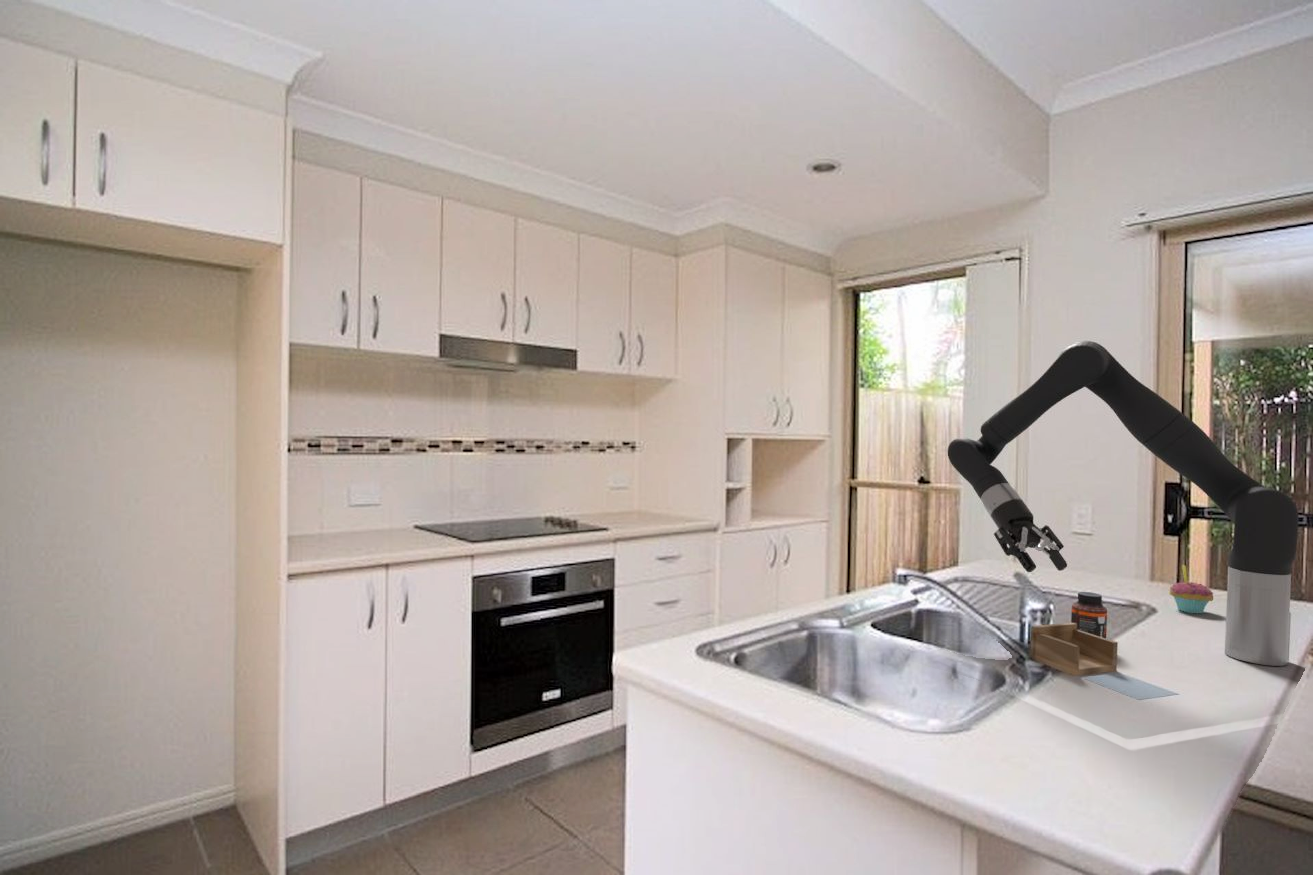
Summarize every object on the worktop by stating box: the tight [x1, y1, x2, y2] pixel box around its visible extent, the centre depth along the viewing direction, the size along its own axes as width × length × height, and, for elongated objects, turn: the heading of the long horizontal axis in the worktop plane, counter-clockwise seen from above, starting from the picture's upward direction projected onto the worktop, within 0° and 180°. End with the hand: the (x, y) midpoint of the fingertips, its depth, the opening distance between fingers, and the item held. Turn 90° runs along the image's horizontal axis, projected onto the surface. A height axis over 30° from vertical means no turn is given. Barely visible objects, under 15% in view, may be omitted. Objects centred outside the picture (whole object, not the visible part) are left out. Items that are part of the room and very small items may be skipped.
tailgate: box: [1080, 672, 1178, 701], centre depth 115 cm, size 9×1×10 cm
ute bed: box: [1030, 622, 1119, 677], centre depth 125 cm, size 10×9×7 cm
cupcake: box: [1169, 561, 1214, 615], centre depth 170 cm, size 9×8×12 cm
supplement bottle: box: [1070, 591, 1108, 639], centre depth 136 cm, size 6×6×11 cm
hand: (1048, 569), depth 145 cm, fingers open, 8 cm apart
